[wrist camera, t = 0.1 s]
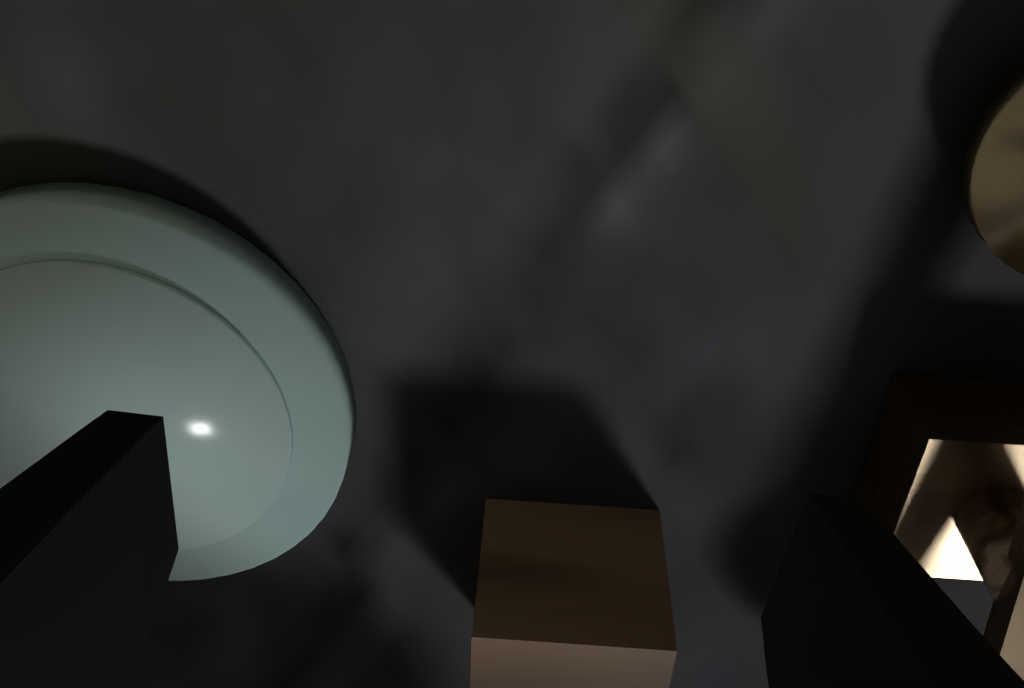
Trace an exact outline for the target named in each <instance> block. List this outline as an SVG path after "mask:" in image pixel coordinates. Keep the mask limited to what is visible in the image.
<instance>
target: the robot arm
mask: <svg viewBox="0 0 1024 688" xmlns="http://www.w3.org/2000/svg"><path fill="white" fill-rule="evenodd" d="M178 550H179V547H178V538H177V530H176V521H175V513H174V504H173V496H172V487H171V479H170V470H169V462H168V453H167V445H166V436H165V428H164V419H163V416H154V415H146V414H138V413H129V412H121V411H112V410H107V411H106V412H104V413H103V414H101V415H100V416H99V417H97V418H96V419H94V420H93V421H91V422H90V423H89V424H87V425H86V426H85V427H83V428H82V429H80V430H79V431H78V432H76V433H75V434H74V435H72V436H71V437H70V438H68V439H67V440H65V441H64V442H63V443H61V444H60V445H59V446H57V447H56V448H55V449H53V450H52V451H50V452H49V453H48V454H46V455H45V456H44V457H42V458H41V459H40V460H38V461H37V462H36V463H34V464H33V465H32V466H30V467H29V468H27V469H26V470H25V471H23V472H22V473H21V474H19V475H18V476H17V477H15V478H14V479H12V480H11V481H10V482H8V483H7V484H6V485H4V486H3V487H2V488H0V688H122V687H123V685H124V683H125V681H126V679H127V677H128V675H129V673H130V671H131V669H132V667H133V665H134V663H135V661H136V659H137V657H138V655H139V653H140V651H141V649H142V647H143V645H144V643H145V641H146V638H147V636H148V634H149V632H150V629H151V627H152V624H153V621H154V619H155V616H156V613H157V610H158V608H159V605H160V602H161V600H162V597H163V594H164V591H165V588H166V585H167V582H168V580H169V577H170V574H171V571H172V568H173V565H174V562H175V559H176V556H177V553H178ZM761 621H762V630H763V640H764V650H765V660H766V669H767V676H768V684H769V688H1024V680H1023V679H1022V678H1021V677H1020V676H1019V675H1018V674H1017V673H1016V672H1015V671H1014V670H1013V669H1012V668H1011V666H1010V665H1009V664H1008V663H1007V662H1006V661H1005V660H1004V659H1003V658H1002V657H1001V656H1000V654H999V653H998V652H997V651H996V650H995V649H994V648H993V647H992V646H991V645H990V644H989V642H988V641H987V640H986V639H985V638H984V637H983V636H982V635H981V633H980V632H979V631H978V630H977V629H976V628H975V627H974V626H973V625H972V623H971V622H970V621H969V620H968V619H967V618H966V617H965V616H964V614H963V613H962V612H961V611H960V610H959V609H958V608H957V606H956V605H955V604H954V603H953V602H952V601H951V600H950V598H949V597H948V596H947V595H946V594H945V593H944V592H943V590H942V589H941V588H940V587H939V586H938V585H937V583H936V582H935V581H934V580H933V579H932V578H931V576H930V575H929V574H928V573H927V572H926V571H925V570H924V568H923V567H922V566H921V565H920V564H919V563H918V561H917V560H916V559H915V558H914V557H913V556H912V554H911V553H910V552H909V551H908V550H907V549H906V547H905V546H904V545H903V544H902V543H901V542H900V540H899V539H898V538H897V537H896V536H895V535H894V533H893V532H892V531H891V530H890V529H889V528H888V527H887V525H886V524H885V523H884V522H883V521H882V520H881V519H880V517H879V516H878V515H877V514H876V513H875V512H874V511H873V510H872V509H871V508H870V506H869V505H868V504H867V503H866V502H865V501H864V500H860V499H852V498H843V497H835V496H826V495H818V494H809V496H808V499H807V501H806V504H805V507H804V509H803V512H802V514H801V517H800V519H799V522H798V524H797V527H796V529H795V532H794V534H793V537H792V540H791V542H790V545H789V547H788V550H787V552H786V555H785V557H784V560H783V562H782V565H781V567H780V570H779V573H778V575H777V578H776V580H775V583H774V585H773V588H772V590H771V593H770V595H769V598H768V600H767V603H766V605H765V608H764V611H763V613H762V616H761Z"/></svg>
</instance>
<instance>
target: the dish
mask: <svg viewBox="0 0 1024 688" xmlns="http://www.w3.org/2000/svg"><path fill="white" fill-rule="evenodd" d="M107 410H112V411H121V412H129V413H138V414H146V415H154V416H163V419H164V428H165V436H166V445H167V453H168V462H169V470H170V479H171V487H172V496H173V504H174V513H175V521H176V530H177V538H178V547H179V550H178V553H177V556H176V559H175V562H174V565H173V568H172V571H171V574H170V577H169V580H168V581H186V580H200V579H209V578H215V577H220V576H226V575H231V574H234V573H238V572H241V571H244V570H248V569H251V568H254V567H256V566H259V565H261V564H263V563H266V562H268V561H270V560H272V559H275V558H276V557H278V556H280V555H281V554H283V553H284V552H286V551H288V550H289V549H291V548H293V547H294V546H295V545H296V544H298V543H299V542H300V541H301V540H302V539H304V538H305V537H306V536H307V535H309V534H310V533H311V532H312V530H313V529H314V528H315V527H316V526H317V525H318V524H319V522H320V521H321V520H322V519H323V518H324V517H325V515H326V513H327V512H328V510H329V508H330V507H331V505H332V503H333V502H334V500H335V498H336V496H337V493H338V491H339V488H340V485H341V483H342V480H343V477H344V474H345V471H346V467H347V464H348V461H349V457H350V454H351V450H352V445H353V440H354V435H355V424H356V404H355V397H354V390H353V383H352V380H351V376H350V373H349V370H348V366H347V363H346V360H345V357H344V355H343V353H342V351H341V348H340V346H339V344H338V342H337V340H336V338H335V335H334V333H333V332H332V330H331V328H330V327H329V325H328V324H327V322H326V321H325V319H324V317H323V316H322V314H321V313H320V311H319V310H318V308H317V307H316V306H315V304H314V303H313V302H312V301H311V299H310V298H309V297H308V296H307V295H306V293H305V292H304V291H303V290H302V288H301V287H300V286H299V285H298V284H297V283H296V282H295V281H294V280H293V279H292V278H291V277H290V276H289V275H288V274H287V273H286V272H285V271H284V270H283V269H282V268H281V267H280V266H279V265H278V264H277V263H276V262H275V261H273V260H272V259H271V258H269V257H268V256H267V255H266V254H264V253H263V252H262V251H260V250H259V249H258V248H257V247H255V246H254V245H253V244H251V243H250V242H249V241H247V240H246V239H244V238H243V237H241V236H239V235H238V234H236V233H235V232H233V231H231V230H230V229H228V228H226V227H225V226H223V225H222V224H220V223H218V222H216V221H214V220H212V219H210V218H208V217H206V216H204V215H202V214H200V213H198V212H196V211H194V210H191V209H189V208H187V207H185V206H182V205H179V204H177V203H174V202H171V201H168V200H165V199H163V198H160V197H157V196H154V195H151V194H147V193H143V192H138V191H134V190H130V189H126V188H122V187H117V186H109V185H100V184H92V183H84V182H50V183H43V184H35V185H28V186H20V187H16V188H12V189H9V190H5V191H2V192H0V488H2V487H3V486H4V485H6V484H7V483H8V482H10V481H11V480H12V479H14V478H15V477H17V476H18V475H19V474H21V473H22V472H23V471H25V470H26V469H27V468H29V467H30V466H32V465H33V464H34V463H36V462H37V461H38V460H40V459H41V458H42V457H44V456H45V455H46V454H48V453H49V452H50V451H52V450H53V449H55V448H56V447H57V446H59V445H60V444H61V443H63V442H64V441H65V440H67V439H68V438H70V437H71V436H72V435H74V434H75V433H76V432H78V431H79V430H80V429H82V428H83V427H85V426H86V425H87V424H89V423H90V422H91V421H93V420H94V419H96V418H97V417H99V416H100V415H101V414H103V413H104V412H106V411H107Z"/></svg>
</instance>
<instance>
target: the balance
mask: <svg viewBox="0 0 1024 688" xmlns="http://www.w3.org/2000/svg"><path fill="white" fill-rule="evenodd" d="M962 180H963V197H964V202H965V208H966V211H967V213H968V216H969V219H970V222H971V223H972V225H973V227H974V228H975V230H976V232H977V234H978V235H979V236H980V237H981V238H982V240H983V241H984V242H985V243H986V244H987V245H988V247H989V248H990V249H991V250H992V251H993V253H994V254H995V255H996V256H997V257H998V258H999V259H1001V260H1002V261H1003V262H1004V263H1005V264H1007V265H1008V266H1010V267H1011V268H1013V269H1015V270H1016V271H1018V272H1020V273H1022V274H1024V67H1023V68H1022V69H1021V70H1020V71H1019V72H1018V73H1017V74H1016V75H1015V76H1014V77H1013V78H1012V79H1011V80H1010V81H1009V82H1008V83H1007V84H1006V85H1005V86H1004V88H1003V89H1002V90H1001V91H1000V92H999V93H998V94H997V96H996V97H995V98H994V100H993V101H992V103H991V104H990V105H989V107H988V108H987V110H986V111H985V113H984V115H983V116H982V118H981V120H980V122H979V124H978V125H977V127H976V129H975V132H974V134H973V137H972V139H971V142H970V144H969V147H968V151H967V154H966V158H965V162H964V170H963V178H962ZM852 499H860V500H864V501H865V502H866V503H867V504H868V505H869V506H870V508H871V509H872V510H873V511H874V512H875V513H876V514H877V515H878V516H879V517H880V519H881V520H882V521H883V522H884V523H885V524H886V525H887V527H888V528H889V529H890V530H891V531H892V532H893V533H894V535H895V536H896V537H897V538H898V539H899V540H900V542H901V543H902V544H903V545H904V546H905V547H906V549H907V550H908V551H909V552H910V553H911V554H912V556H913V557H914V558H915V559H916V560H917V561H918V563H919V564H920V565H921V566H922V567H923V568H924V570H925V571H926V572H927V573H928V574H929V575H930V576H931V577H935V578H950V579H965V580H980V581H984V583H985V585H986V587H987V589H988V591H989V593H990V595H991V596H992V598H993V600H994V601H993V605H992V608H991V611H990V615H989V618H988V621H987V625H986V628H985V632H984V635H983V637H984V638H985V639H986V640H987V641H988V642H989V644H990V645H991V646H992V647H993V648H994V649H995V650H996V651H997V652H998V653H999V654H1000V656H1001V657H1002V658H1003V659H1004V660H1005V661H1006V662H1007V663H1008V664H1009V665H1010V666H1011V668H1012V669H1013V670H1014V671H1015V672H1016V673H1017V674H1018V675H1019V676H1020V677H1021V678H1022V679H1023V680H1024V381H1013V380H997V379H982V378H966V377H951V376H935V375H919V374H904V373H894V376H893V379H892V382H891V385H890V388H889V391H888V394H887V397H886V400H885V403H884V406H883V409H882V412H881V415H880V418H879V421H878V424H877V427H876V429H875V432H874V435H873V438H872V441H871V444H870V447H869V450H868V453H867V456H866V459H865V462H864V465H863V468H862V471H861V474H860V477H859V480H858V483H857V486H856V489H855V492H854V495H853V498H852Z"/></svg>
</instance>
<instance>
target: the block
mask: <svg viewBox="0 0 1024 688" xmlns="http://www.w3.org/2000/svg"><path fill="white" fill-rule="evenodd" d="M676 654H677V647H676V639H675V631H674V623H673V615H672V607H671V599H670V591H669V583H668V575H667V567H666V559H665V551H664V543H663V535H662V527H661V519H660V511H659V510H651V509H636V508H621V507H605V506H590V505H575V504H560V503H545V502H530V501H514V500H499V499H486V503H485V513H484V523H483V532H482V542H481V552H480V562H479V571H478V581H477V591H476V600H475V610H474V620H473V630H472V644H471V674H470V688H669V685H670V681H671V676H672V672H673V667H674V663H675V658H676Z"/></svg>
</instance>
